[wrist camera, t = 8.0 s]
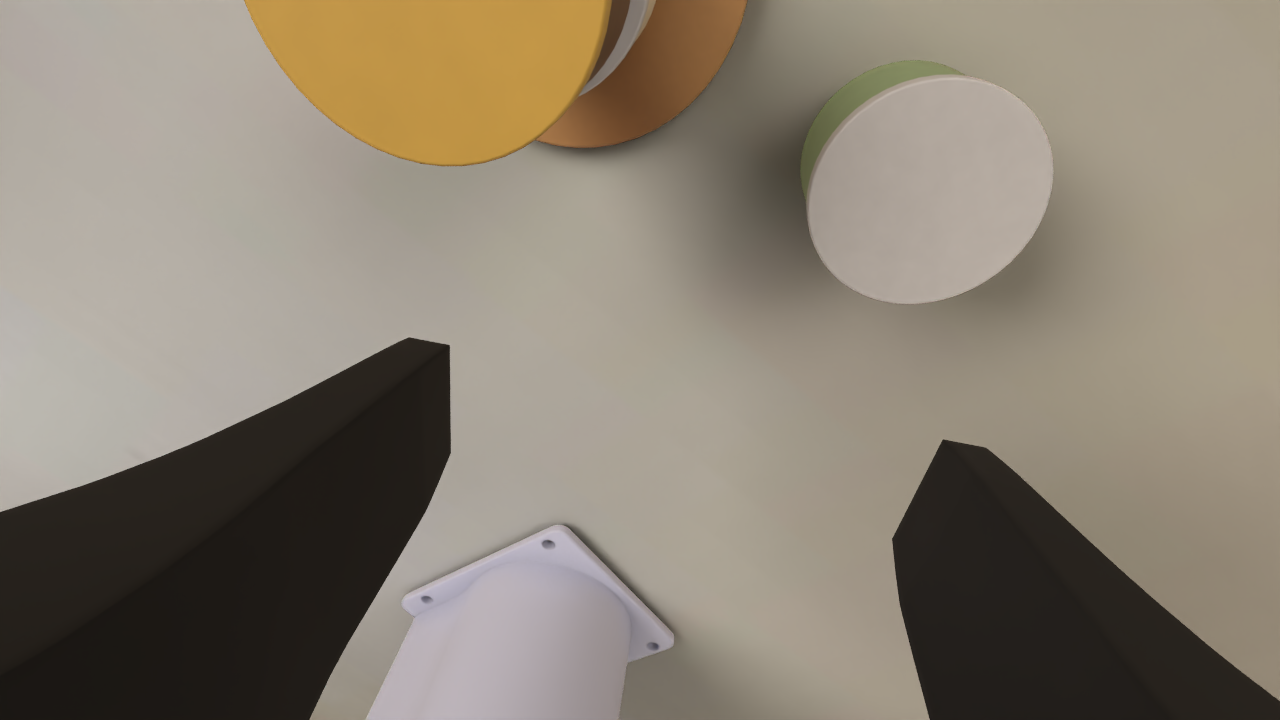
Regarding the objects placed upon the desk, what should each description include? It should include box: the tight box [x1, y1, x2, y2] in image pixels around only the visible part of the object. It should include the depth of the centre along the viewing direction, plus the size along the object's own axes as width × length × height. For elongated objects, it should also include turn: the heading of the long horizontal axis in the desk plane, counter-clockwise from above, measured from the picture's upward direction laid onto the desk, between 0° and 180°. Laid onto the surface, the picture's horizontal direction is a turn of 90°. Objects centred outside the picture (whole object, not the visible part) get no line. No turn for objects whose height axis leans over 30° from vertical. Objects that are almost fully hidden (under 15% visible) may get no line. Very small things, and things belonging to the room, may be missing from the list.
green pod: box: [800, 60, 1053, 304], centre depth 15 cm, size 5×5×4 cm
